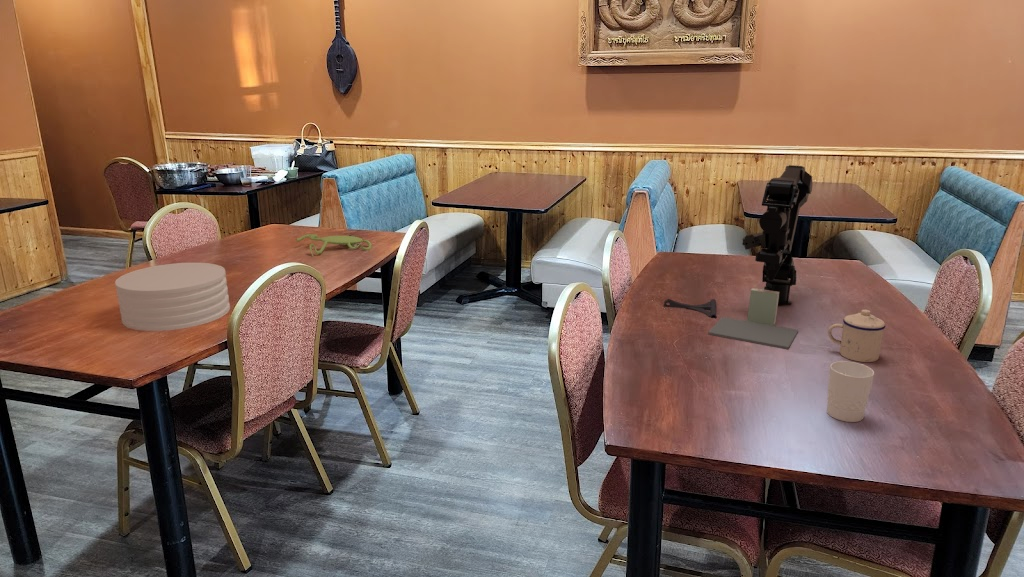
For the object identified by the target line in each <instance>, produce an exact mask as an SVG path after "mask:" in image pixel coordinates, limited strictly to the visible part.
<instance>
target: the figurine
mask: <svg viewBox="0 0 1024 577" xmlns="http://www.w3.org/2000/svg"><path fill="white" fill-rule="evenodd" d="M306 238H310V241H317V242H320V241H321V242H323V244H322V246H321V248H320V249H319V250H317V247H316V246H315V244H314V243H313V242H312V243H310V244H309V250H310V253H311V257H314V253H313V249H312V248H313V247H314V252H315V253H316V254H317V255H320V254H322V253H323V252H324V250H325V249H326V247H327V245H328V244H330V245H336V246H335V248H336V249H338V248H340V247H342V245H343V246H344V245H345V246H346V245H347V248H349V249H351V250H355V249H357V248H358V247H359V246H360V249H361V250H363V251H370V250H371V249H372V242H370V241H369V240H367V239H364V240H363V238H361V237H359V236H354V235H351V234H350V235H329V236H324V237H319V235H318V234H316V233H311V234H310V233H309V234H305V235H302V236H299V237H298V238H296V242H301V241H302V240H304V239H306ZM363 243H365V244H367V246H368V247H364V246H363V245H361V244H363Z"/></svg>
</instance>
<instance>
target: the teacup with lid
mask: <svg viewBox="0 0 1024 577" xmlns="http://www.w3.org/2000/svg"><path fill="white" fill-rule="evenodd" d="M842 322H843V324H842V323H834V324H832V325H830V326H829V328H828V329H827V330H828V332H827V334H828V338H829V339H830V340H831V341H832V342H833V343H835V344H837V345H840V346H839V354H840V355H841V356H842V357H844V358H845V359H848V360H851V361H853V362H858V363H860V362H861V363H872V362H876V361H878V360H879V358H880V352H881V346H882V341H883V335H884V331H885V330H884V329H885V328H886V323H885V322H884V320H882V319H881V318H878V317H876V316H875V315H873V314H871V310H869V309H861V311H860V312H857V313H854V314H847V315H846V316H844V318H843V319H842ZM835 328H841V329H842V333H841V339H840V340H839V339H836V338H835V337H834V336H833V334H832V330H833V329H835Z"/></svg>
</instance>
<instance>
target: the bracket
mask: <svg viewBox="0 0 1024 577" xmlns="http://www.w3.org/2000/svg"><path fill="white" fill-rule="evenodd" d="M668 304H669V305H668ZM663 306H664V307H667V308H676V309H677V308H678V309H689V310H693V311H697V312H698V313H699V312H700V313H702V314H703V315H706V316H707V317H709V318H712V317H713V316H714V319H717V314H718V313H717V300H716V299H715V298H711V299H710V301H708V302H705V303H702V304H687V303H683V302H679V301H677V300H672V299H671V298H670V299H669V298H668V299H665V301H664V303H663Z"/></svg>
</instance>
